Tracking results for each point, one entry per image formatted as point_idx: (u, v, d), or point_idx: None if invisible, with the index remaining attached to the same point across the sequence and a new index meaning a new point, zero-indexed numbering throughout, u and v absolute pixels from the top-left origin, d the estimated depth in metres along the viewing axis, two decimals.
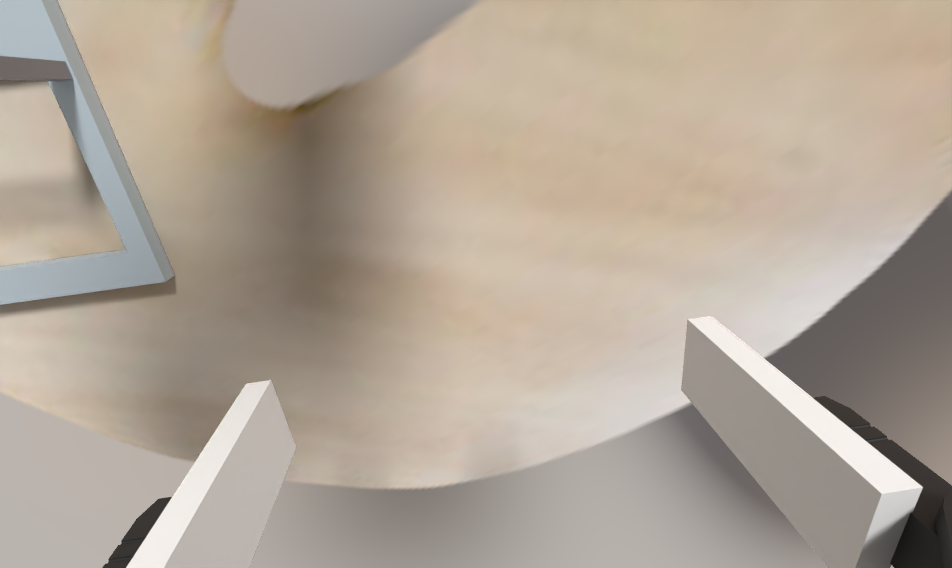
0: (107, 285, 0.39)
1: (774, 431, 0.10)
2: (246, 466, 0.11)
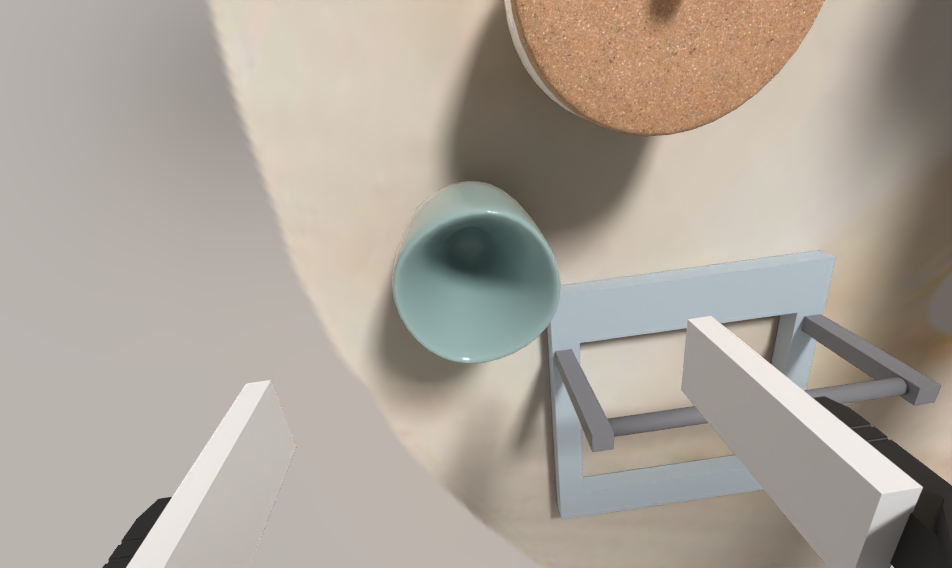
0: (729, 491, 0.39)
1: (774, 431, 0.10)
2: (246, 466, 0.11)
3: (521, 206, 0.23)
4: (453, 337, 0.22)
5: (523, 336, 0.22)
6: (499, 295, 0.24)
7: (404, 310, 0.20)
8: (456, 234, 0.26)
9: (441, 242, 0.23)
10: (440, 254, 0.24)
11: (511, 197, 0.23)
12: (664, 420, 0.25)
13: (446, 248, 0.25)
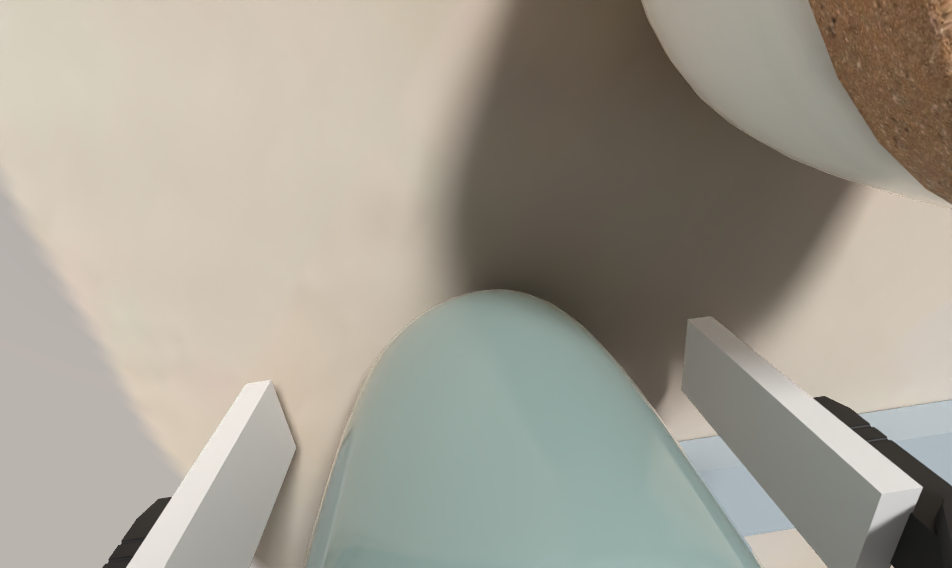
0: None
1: (774, 431, 0.10)
2: (246, 466, 0.11)
3: (635, 387, 0.09)
4: None
5: None
6: None
7: None
8: None
9: None
10: None
11: (608, 363, 0.09)
12: None
13: None
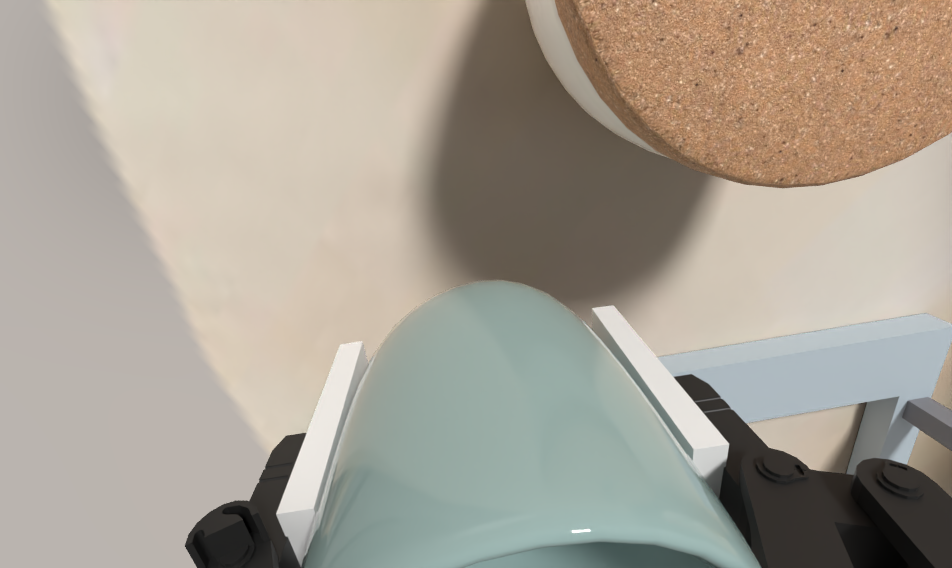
0: None
1: None
2: None
3: (624, 369, 0.10)
4: None
5: None
6: (569, 565, 0.10)
7: None
8: None
9: None
10: None
11: (599, 346, 0.10)
12: None
13: None
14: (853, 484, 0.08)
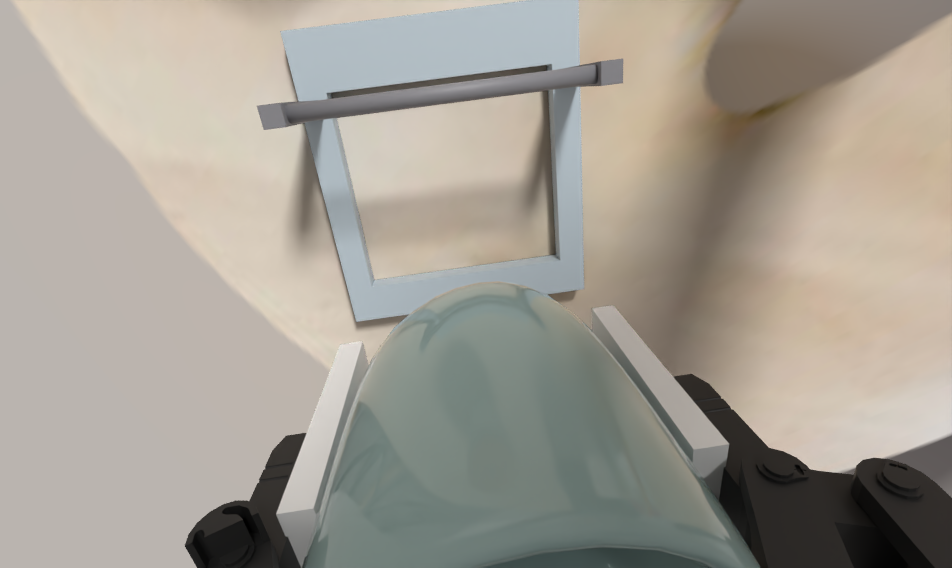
0: None
1: None
2: None
3: (624, 372, 0.10)
4: None
5: None
6: None
7: None
8: None
9: None
10: None
11: (599, 349, 0.10)
12: (342, 101, 0.24)
13: None
14: (853, 484, 0.08)
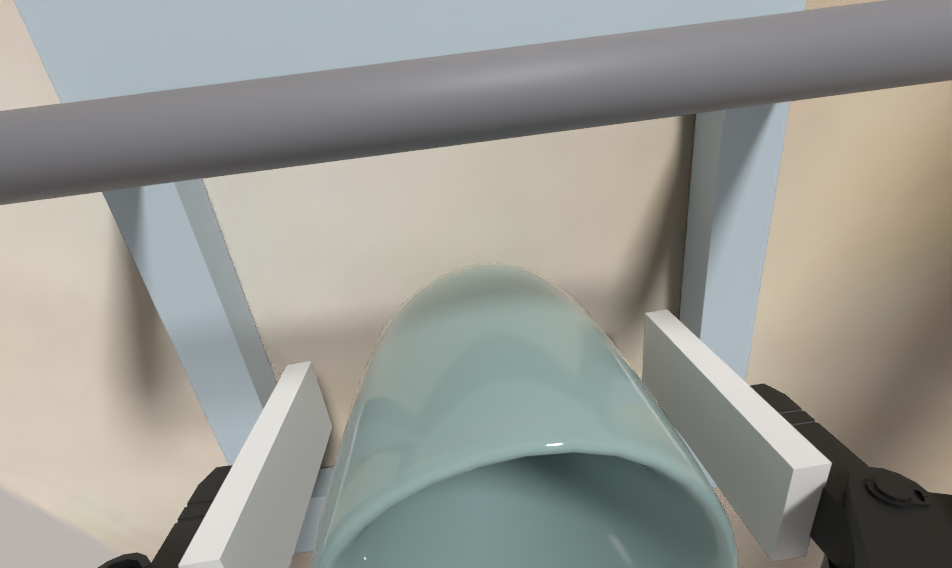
0: None
1: (713, 416, 0.11)
2: (295, 439, 0.12)
3: (607, 337, 0.11)
4: None
5: None
6: (558, 513, 0.12)
7: None
8: None
9: None
10: None
11: (585, 317, 0.11)
12: None
13: None
14: None
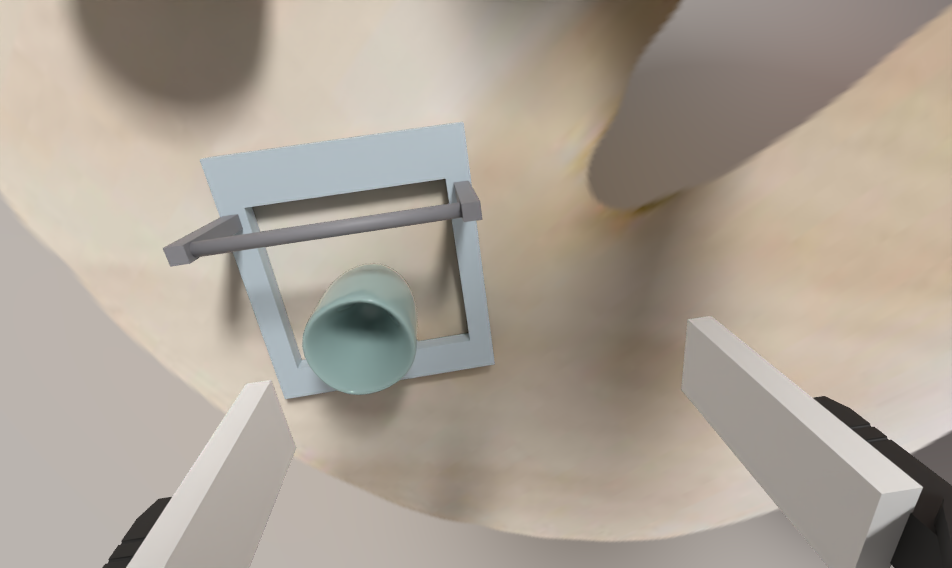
0: (443, 369, 0.42)
1: (774, 431, 0.10)
2: (246, 466, 0.11)
3: (398, 285, 0.34)
4: (349, 377, 0.33)
5: (395, 375, 0.32)
6: (386, 345, 0.35)
7: (311, 361, 0.31)
8: None
9: (343, 311, 0.34)
10: (345, 317, 0.35)
11: (391, 279, 0.34)
12: (240, 239, 0.28)
13: (352, 312, 0.36)
14: None
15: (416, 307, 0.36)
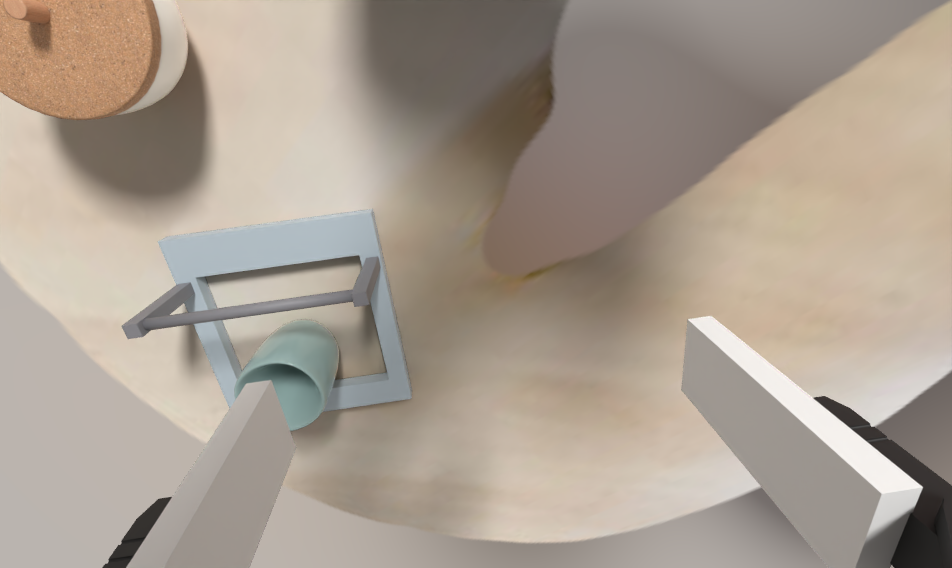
0: (368, 402, 0.50)
1: (774, 431, 0.10)
2: (246, 466, 0.11)
3: (317, 343, 0.42)
4: None
5: (311, 417, 0.41)
6: (308, 390, 0.43)
7: None
8: None
9: (272, 363, 0.42)
10: (277, 366, 0.43)
11: (312, 337, 0.42)
12: (181, 317, 0.36)
13: None
14: None
15: (336, 357, 0.45)
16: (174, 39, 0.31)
